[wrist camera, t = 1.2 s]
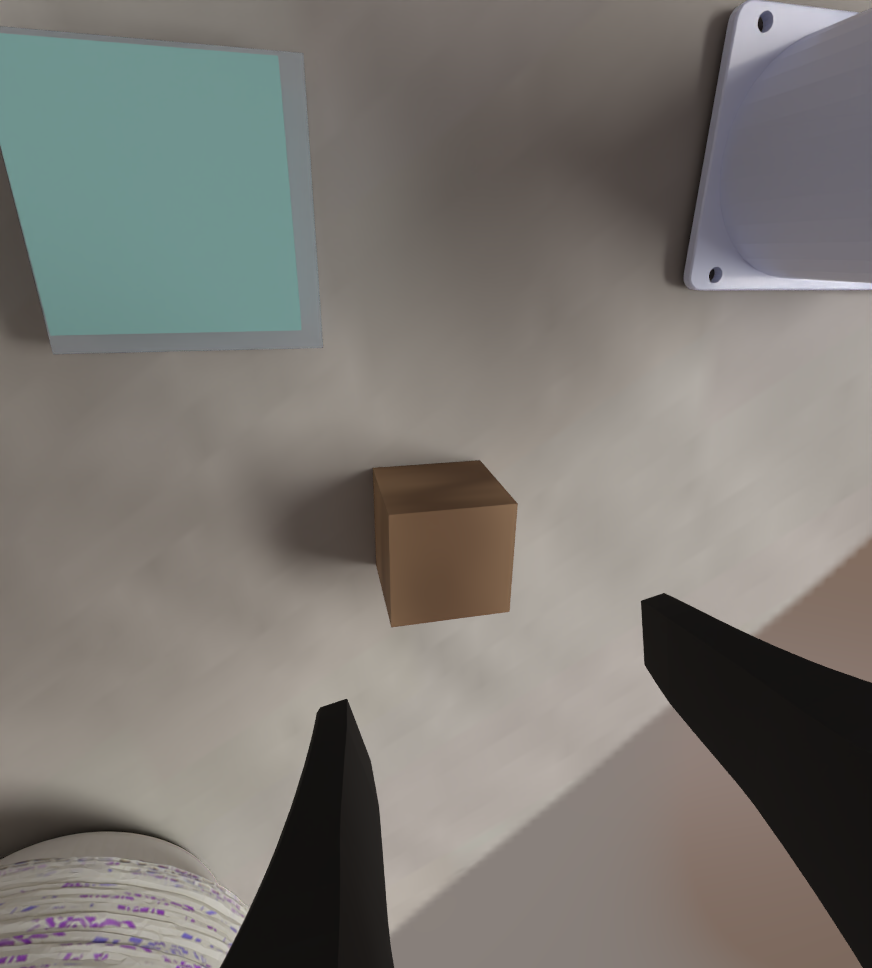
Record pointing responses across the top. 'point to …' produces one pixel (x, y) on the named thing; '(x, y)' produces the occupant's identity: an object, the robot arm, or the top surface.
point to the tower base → (301, 215)
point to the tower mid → (150, 185)
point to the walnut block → (443, 541)
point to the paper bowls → (113, 905)
